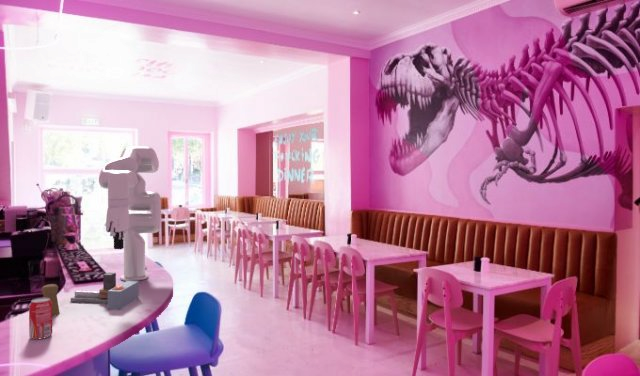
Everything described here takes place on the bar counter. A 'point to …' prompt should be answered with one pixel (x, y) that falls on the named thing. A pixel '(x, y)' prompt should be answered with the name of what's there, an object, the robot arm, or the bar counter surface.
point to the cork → (51, 297)
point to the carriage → (107, 284)
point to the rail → (88, 297)
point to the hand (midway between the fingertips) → (118, 248)
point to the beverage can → (40, 318)
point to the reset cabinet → (123, 295)
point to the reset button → (118, 287)
